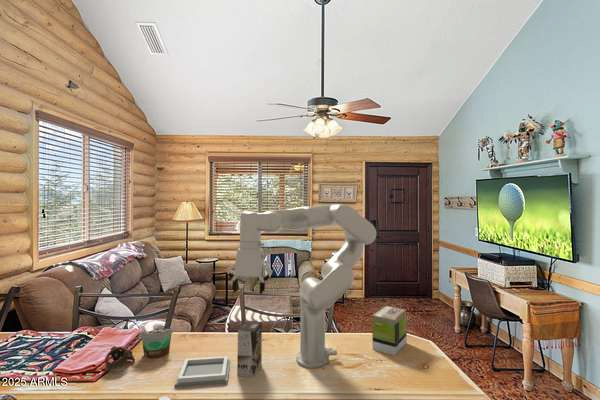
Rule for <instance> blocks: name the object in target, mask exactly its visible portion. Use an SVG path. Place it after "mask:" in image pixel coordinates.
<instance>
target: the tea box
mask: <svg viewBox="0 0 600 400" xmlns="http://www.w3.org/2000/svg"><path fill="white" fill-rule="evenodd" d="M371 319H372V321H371V322H372V325H371V326H372V329H371V330H372V332H371V333H372V335H371V337H372V339H371V340H372V341H371V342H372V350H374V351H377V352H381V353H383V354H386V355H387V354H388V355H390V356H396V355H397V354H398V353H399V352H400V350H402V349H403V347H404V346H405V345H406V344H407V342H408V341H407V339H408V338H407V337H408V336H407V335H408V334H407V309H402V308H398V307H392V306H387V305H386V306H383V307H382V308H380V309H379V310H377V311H376V312H375V313H374V314H372V317H371Z"/></svg>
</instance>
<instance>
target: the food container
mask: <svg viewBox="0 0 600 400" xmlns="http://www.w3.org/2000/svg"><path fill="white" fill-rule="evenodd" d="M173 333H174V328H173V326H171V327H169V328H161V329H160V328H158V329H157V328H156V329H154V330H150V331H143V330H140V333H139V337H140V338H141V342H142V349H143V350H142V351H143V357H144V358H146V359H149V360H151V359H153V360H154V359H160V358H163V357H165V356H167V355H168V354H169V353H170V348H171V340H172V339H171V338H172V334H173Z"/></svg>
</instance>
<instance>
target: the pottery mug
mask: <svg viewBox="0 0 600 400" xmlns="http://www.w3.org/2000/svg"><path fill="white" fill-rule="evenodd" d="M110 356H111V358H112V360H113V362H110V361H109V358H110ZM129 360H130V361H132V362H133V363H134V364H135V363H136V361H135V360H136V359H135V357H134V355H133V350H131V349H130V348H127V347H126V346H116V345H114V346H112V347H111V348H110V351H108V353H107V354H106V356H105V358H104V361H105V362H104V369H105V371H106V372H107V373H108V372H109V371H113V370H118V368H121V367H122V366H124V365H127V364H129V362H128V361H129Z"/></svg>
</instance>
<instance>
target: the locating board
mask: <svg viewBox="0 0 600 400" xmlns="http://www.w3.org/2000/svg"><path fill="white" fill-rule="evenodd" d="M230 366H231V358H228V355H223V356H211V357H210V356H209V357H208V356H207V357H195V358H185V359H184V361H183V362H182V364H181V367H180V370H179V373H178V375H177V377H176V380H175V382H174V387H173V388H175V389H176V388H186V387H200V386H212V385H213V386H215V385H224V384H226V383H227V384H228V380H229V374H230V373H229V372H230ZM214 384H215V385H214Z"/></svg>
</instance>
